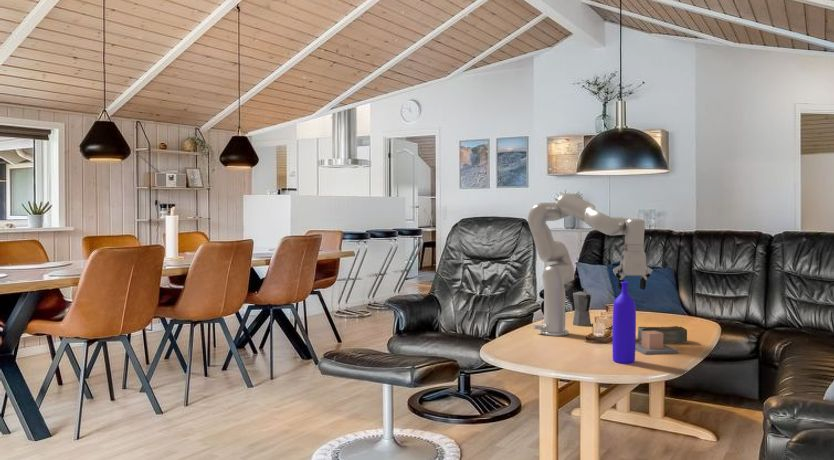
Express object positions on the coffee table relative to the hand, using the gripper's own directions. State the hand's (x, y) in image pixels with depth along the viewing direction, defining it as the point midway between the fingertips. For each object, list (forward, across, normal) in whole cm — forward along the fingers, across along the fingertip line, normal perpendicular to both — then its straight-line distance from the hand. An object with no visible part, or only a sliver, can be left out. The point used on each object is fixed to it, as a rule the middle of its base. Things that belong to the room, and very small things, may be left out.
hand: (631, 289), depth 279 cm
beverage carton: (+24, +17, +3) cm, 29 cm away
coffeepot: (+25, -1, +45) cm, 52 cm away
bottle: (+23, -16, -28) cm, 40 cm away
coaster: (+23, +4, -12) cm, 26 cm away
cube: (+22, +4, -12) cm, 25 cm away
